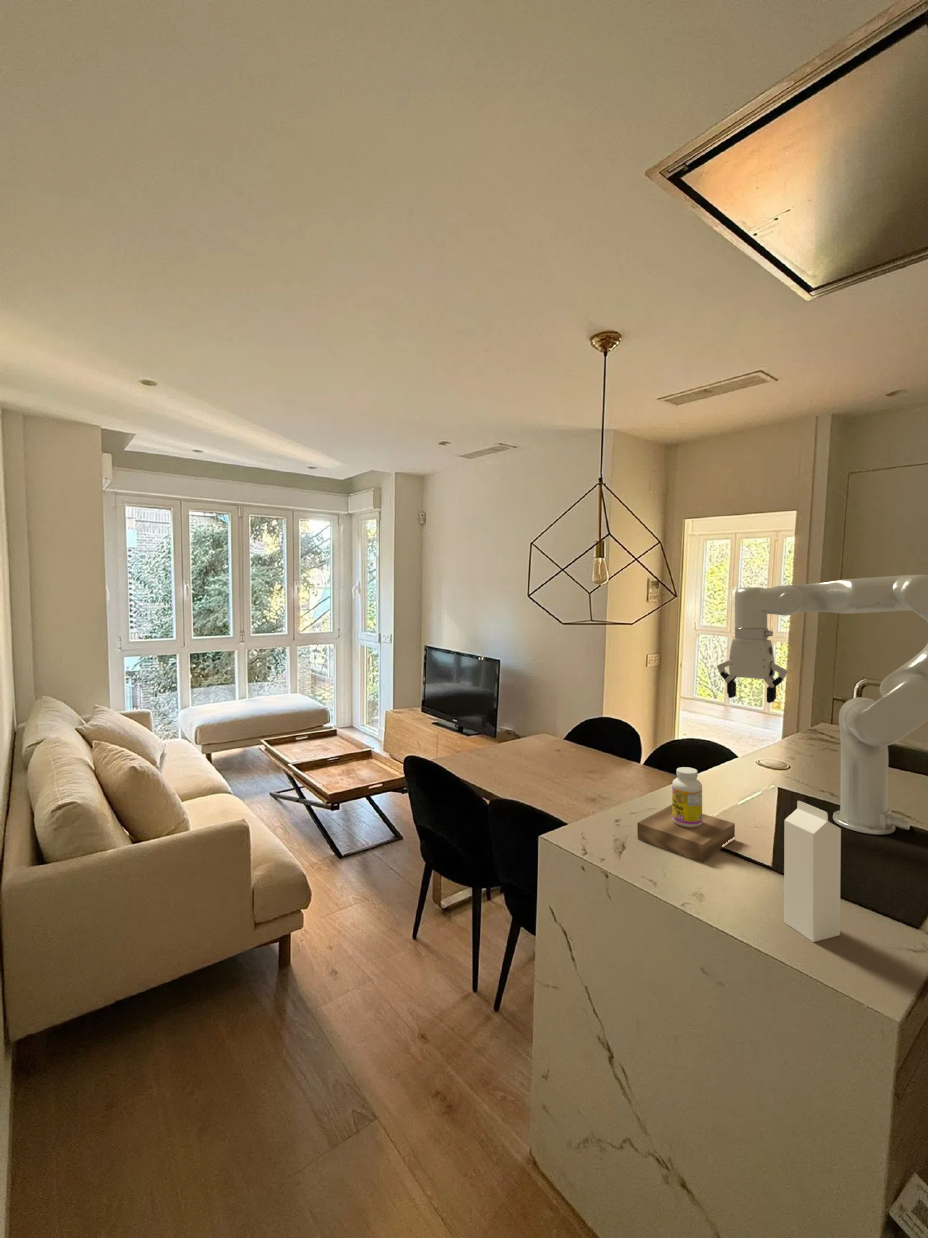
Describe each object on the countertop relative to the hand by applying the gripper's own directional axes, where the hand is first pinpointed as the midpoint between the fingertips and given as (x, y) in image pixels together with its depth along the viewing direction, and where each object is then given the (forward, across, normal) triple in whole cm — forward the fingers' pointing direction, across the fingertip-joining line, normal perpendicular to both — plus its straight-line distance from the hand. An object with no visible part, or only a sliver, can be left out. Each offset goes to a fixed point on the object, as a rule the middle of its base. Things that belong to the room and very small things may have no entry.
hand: (750, 699), depth 145 cm
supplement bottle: (+26, +4, +27) cm, 38 cm away
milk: (+31, -28, +44) cm, 60 cm away
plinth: (+30, +4, +27) cm, 41 cm away
